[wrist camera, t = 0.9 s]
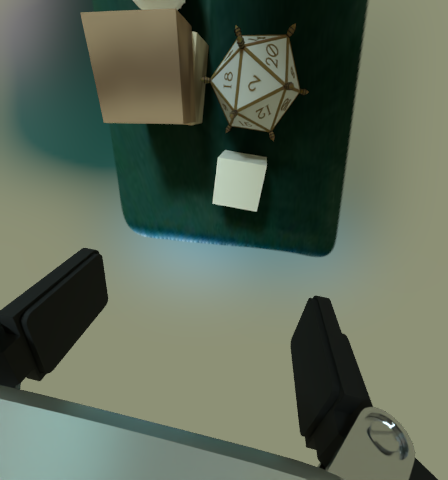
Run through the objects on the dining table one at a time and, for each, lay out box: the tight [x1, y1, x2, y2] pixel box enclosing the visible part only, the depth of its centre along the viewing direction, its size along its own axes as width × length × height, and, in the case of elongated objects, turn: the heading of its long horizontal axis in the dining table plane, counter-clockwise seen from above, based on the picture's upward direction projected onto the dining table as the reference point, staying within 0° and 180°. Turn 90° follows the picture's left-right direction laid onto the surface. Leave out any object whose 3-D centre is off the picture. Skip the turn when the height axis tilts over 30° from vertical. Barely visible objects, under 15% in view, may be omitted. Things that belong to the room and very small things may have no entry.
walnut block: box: [81, 8, 196, 124], centre depth 20 cm, size 7×7×4 cm
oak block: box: [185, 32, 209, 125], centre depth 24 cm, size 7×7×5 cm
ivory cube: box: [212, 150, 267, 212], centre depth 27 cm, size 5×5×5 cm
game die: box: [200, 23, 309, 141], centre depth 21 cm, size 9×8×10 cm
